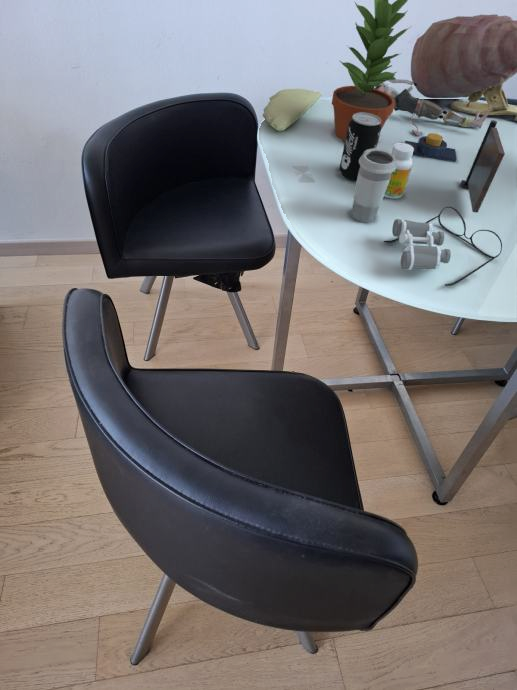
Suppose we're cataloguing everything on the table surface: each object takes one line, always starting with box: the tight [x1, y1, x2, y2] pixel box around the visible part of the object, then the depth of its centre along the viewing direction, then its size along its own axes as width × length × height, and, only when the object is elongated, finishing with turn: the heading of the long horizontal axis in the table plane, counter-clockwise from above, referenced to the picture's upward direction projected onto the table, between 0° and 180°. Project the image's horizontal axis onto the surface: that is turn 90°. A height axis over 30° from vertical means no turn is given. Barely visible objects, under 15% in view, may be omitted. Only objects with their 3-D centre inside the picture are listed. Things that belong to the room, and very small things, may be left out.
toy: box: [374, 78, 491, 136], centre depth 126 cm, size 9×16×30 cm
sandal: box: [449, 83, 517, 123], centre depth 134 cm, size 13×23×8 cm, turn 52°
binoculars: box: [391, 218, 452, 271], centre depth 83 cm, size 12×8×4 cm, turn 179°
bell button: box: [425, 132, 444, 146], centre depth 114 cm, size 4×4×2 cm
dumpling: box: [262, 88, 323, 132], centre depth 123 cm, size 26×4×10 cm
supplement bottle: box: [383, 142, 414, 200], centre depth 98 cm, size 5×5×10 cm
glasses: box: [383, 206, 503, 287], centre depth 87 cm, size 14×15×5 cm
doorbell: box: [404, 135, 458, 163], centre depth 116 cm, size 12×6×2 cm, turn 78°
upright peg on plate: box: [460, 119, 498, 191], centre depth 101 cm, size 2×2×14 cm
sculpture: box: [410, 14, 517, 99], centre depth 132 cm, size 19×28×30 cm
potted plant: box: [331, 0, 413, 142], centre depth 108 cm, size 15×15×30 cm
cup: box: [350, 148, 396, 223], centre depth 90 cm, size 7×7×12 cm
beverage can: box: [339, 112, 382, 182], centre depth 101 cm, size 7×7×12 cm
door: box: [467, 127, 506, 214], centre depth 95 cm, size 1×12×12 cm, turn 168°
